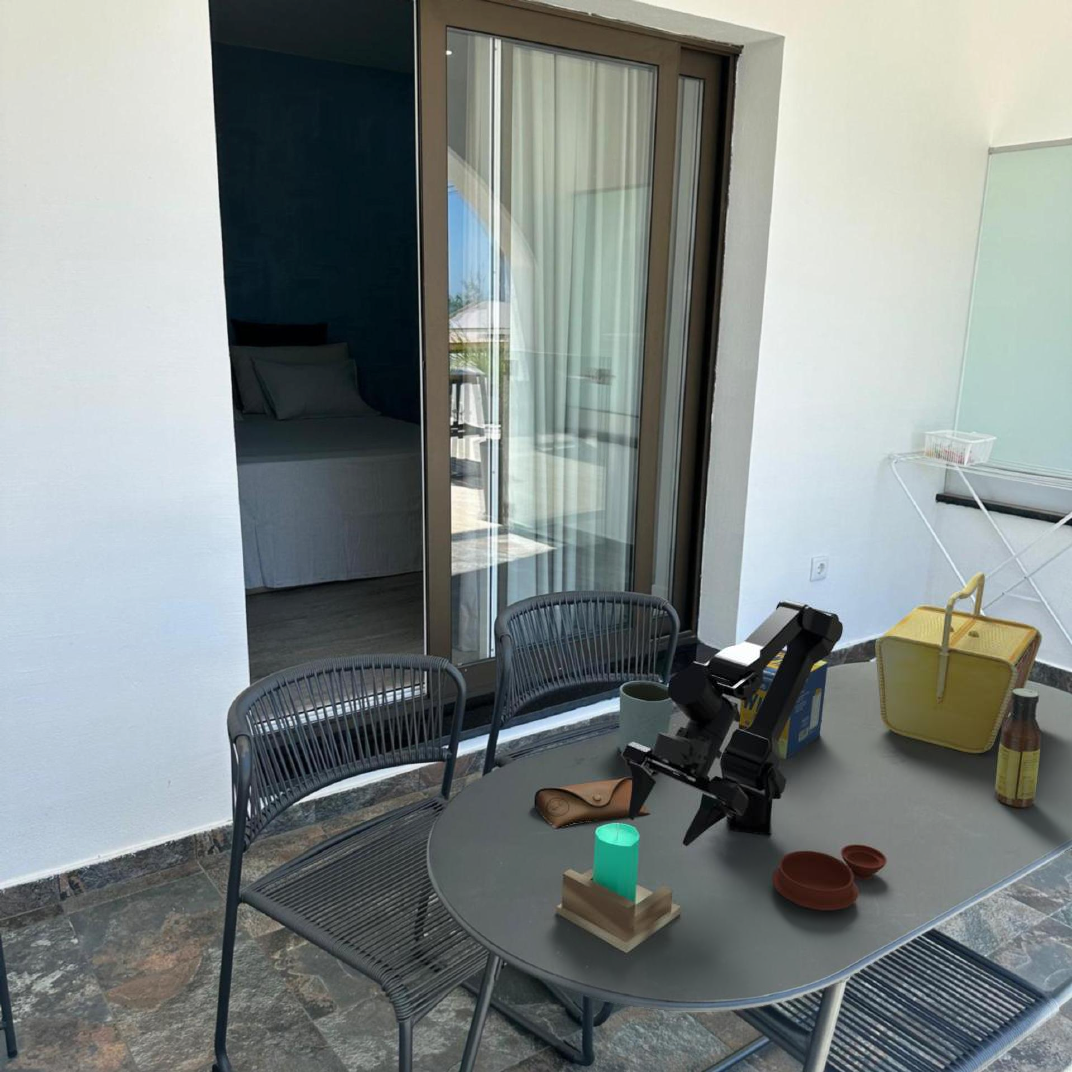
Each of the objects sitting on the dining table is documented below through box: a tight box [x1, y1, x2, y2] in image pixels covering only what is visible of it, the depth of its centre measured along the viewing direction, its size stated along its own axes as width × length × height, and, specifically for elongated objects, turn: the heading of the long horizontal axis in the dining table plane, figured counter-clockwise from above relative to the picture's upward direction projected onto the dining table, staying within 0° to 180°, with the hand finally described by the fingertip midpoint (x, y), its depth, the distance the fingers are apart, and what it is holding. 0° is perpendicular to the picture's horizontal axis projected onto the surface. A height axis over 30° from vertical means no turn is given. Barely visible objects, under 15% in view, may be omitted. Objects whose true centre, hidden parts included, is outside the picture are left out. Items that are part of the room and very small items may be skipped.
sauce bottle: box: [994, 688, 1042, 808], centre depth 165 cm, size 6×6×20 cm
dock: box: [555, 867, 682, 954], centre depth 131 cm, size 12×12×6 cm
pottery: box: [771, 844, 887, 911], centre depth 139 cm, size 12×20×4 cm, turn 125°
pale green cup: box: [618, 680, 674, 759], centre depth 181 cm, size 10×10×12 cm
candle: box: [592, 822, 641, 903], centre depth 131 cm, size 6×6×12 cm
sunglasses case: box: [533, 776, 651, 828], centre depth 160 cm, size 18×7×7 cm
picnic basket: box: [874, 571, 1043, 754], centre depth 195 cm, size 29×26×30 cm
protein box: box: [737, 649, 829, 760], centre depth 187 cm, size 10×15×16 cm
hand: (656, 831), depth 136 cm, fingers open, 9 cm apart
